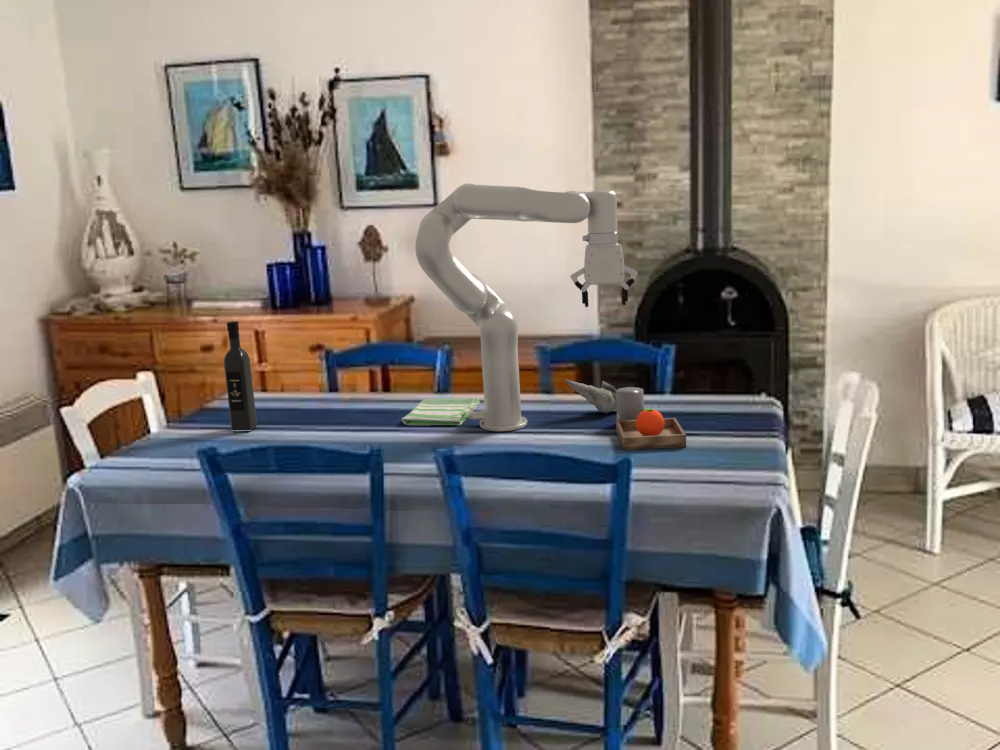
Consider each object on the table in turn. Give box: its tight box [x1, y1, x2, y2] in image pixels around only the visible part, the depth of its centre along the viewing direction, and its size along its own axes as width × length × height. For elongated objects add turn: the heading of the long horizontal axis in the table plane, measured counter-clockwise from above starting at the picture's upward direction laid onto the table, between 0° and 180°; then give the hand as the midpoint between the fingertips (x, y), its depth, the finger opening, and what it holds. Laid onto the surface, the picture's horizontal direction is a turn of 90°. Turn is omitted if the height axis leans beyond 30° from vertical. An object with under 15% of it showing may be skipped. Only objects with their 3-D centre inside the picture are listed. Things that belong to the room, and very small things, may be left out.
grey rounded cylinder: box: [615, 386, 645, 421], centre depth 265 cm, size 7×7×9 cm
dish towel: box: [401, 397, 481, 427], centre depth 286 cm, size 18×23×3 cm
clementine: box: [636, 407, 664, 436], centre depth 251 cm, size 8×7×7 cm
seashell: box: [564, 379, 617, 414], centre depth 279 cm, size 10×17×10 cm, turn 82°
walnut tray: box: [615, 417, 687, 451], centre depth 252 cm, size 15×15×3 cm
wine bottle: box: [223, 320, 258, 431], centre depth 278 cm, size 6×6×30 cm
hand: (605, 305), depth 266 cm, fingers open, 9 cm apart
